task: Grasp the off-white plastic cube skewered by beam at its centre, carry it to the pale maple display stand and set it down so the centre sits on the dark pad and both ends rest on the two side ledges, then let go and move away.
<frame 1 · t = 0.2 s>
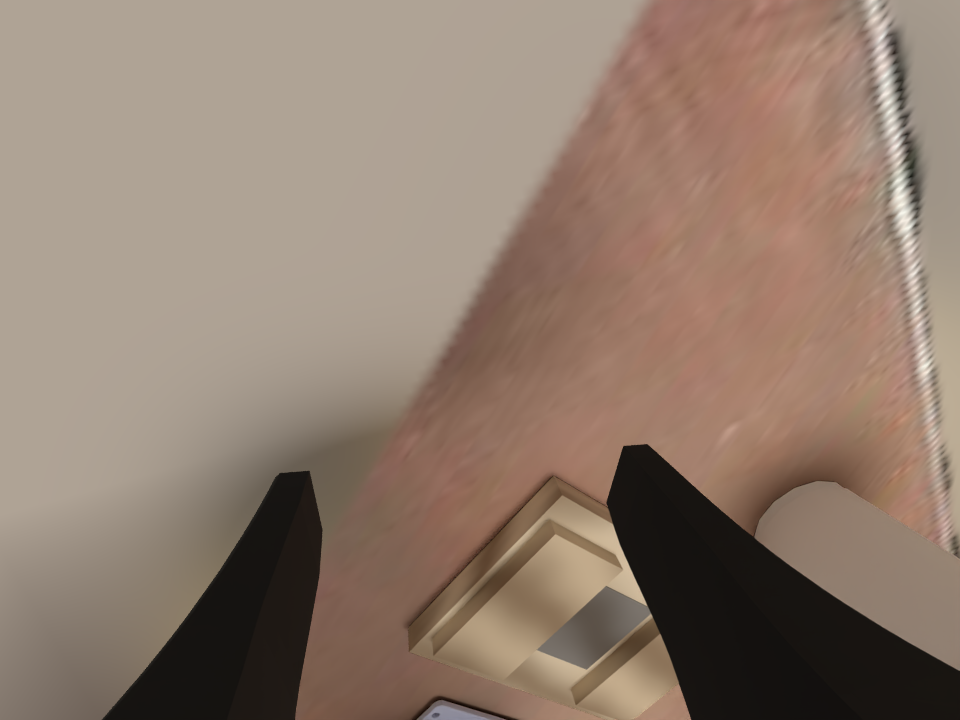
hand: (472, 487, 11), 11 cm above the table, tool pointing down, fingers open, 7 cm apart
foam cup: (800, 519, 30), on the table
display stand: (582, 605, 30), on the table
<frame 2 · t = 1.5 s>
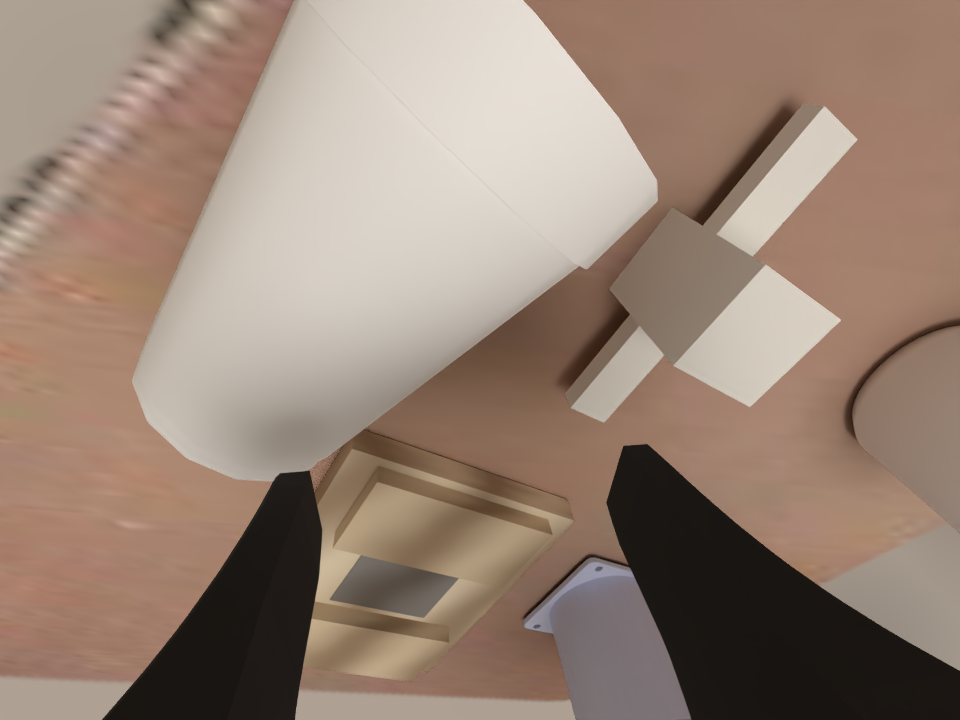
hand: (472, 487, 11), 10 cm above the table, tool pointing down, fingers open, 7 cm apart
foam cup: (239, 404, 16), point 5 cm above the table
cube skewered by beam: (672, 271, 21), on the table
display stand: (397, 561, 29), on the table
alcohol: (918, 384, 27), on the table
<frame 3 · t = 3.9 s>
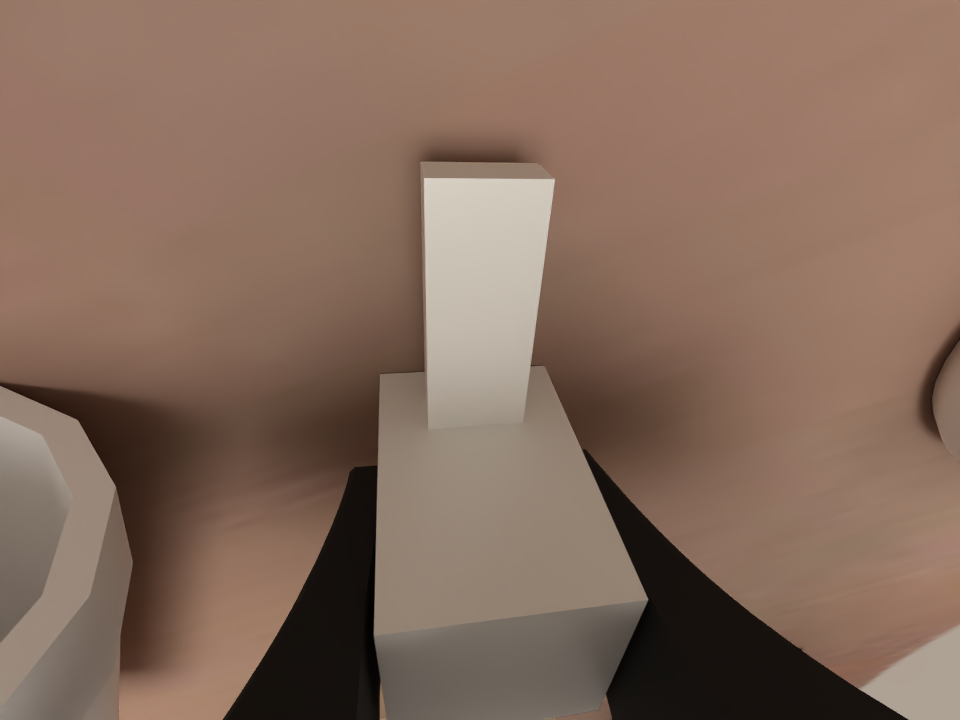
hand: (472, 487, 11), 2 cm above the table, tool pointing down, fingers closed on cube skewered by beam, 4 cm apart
cube skewered by beam: (462, 430, 13), on the table, touching gripper
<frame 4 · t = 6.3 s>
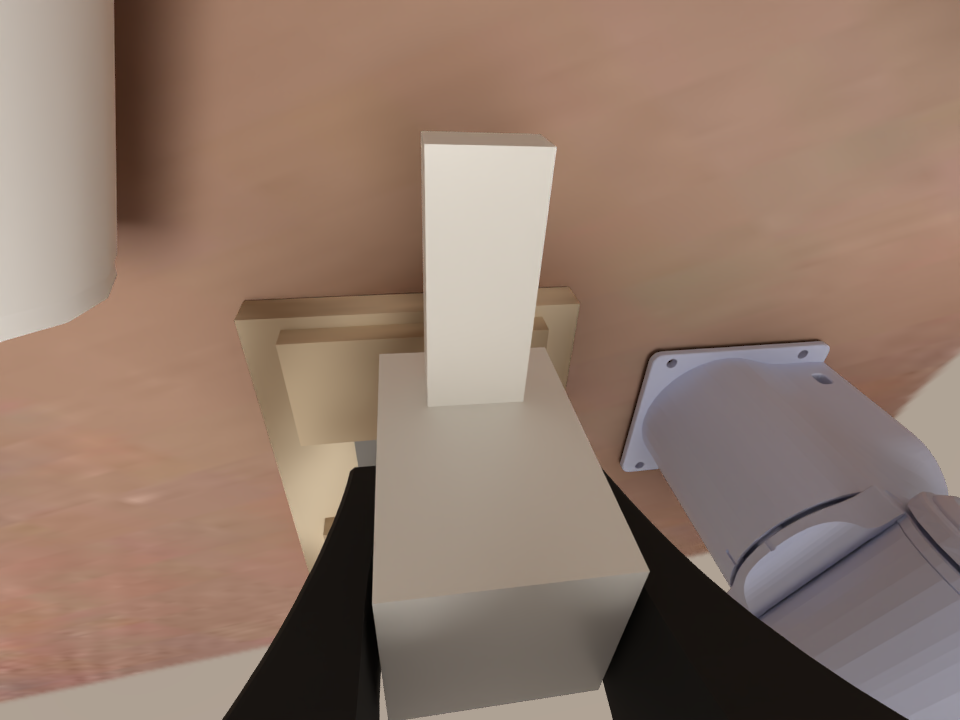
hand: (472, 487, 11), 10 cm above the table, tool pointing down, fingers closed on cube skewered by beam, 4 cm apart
cube skewered by beam: (461, 413, 13), point 8 cm above the table, touching gripper
display stand: (421, 444, 25), on the table
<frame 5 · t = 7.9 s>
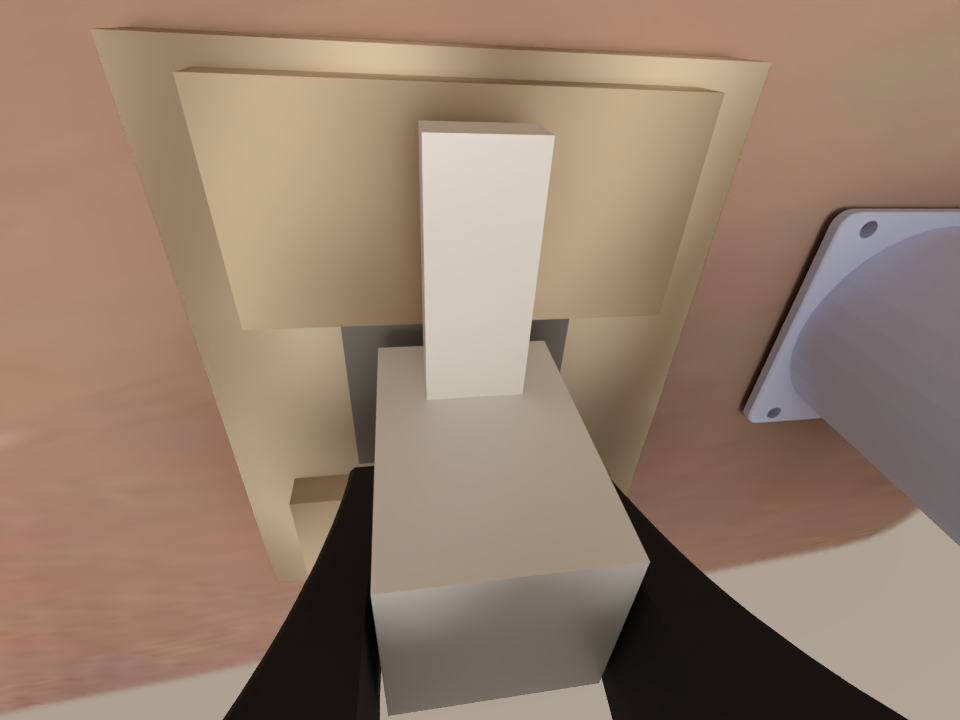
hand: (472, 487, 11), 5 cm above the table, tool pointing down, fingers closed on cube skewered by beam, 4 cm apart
cube skewered by beam: (461, 408, 13), point 3 cm above the table, touching gripper
display stand: (451, 364, 15), on the table
when the fingers open (4 cm above the table, at t = 8.9 s): cube skewered by beam stays where it is, resting on display stand.
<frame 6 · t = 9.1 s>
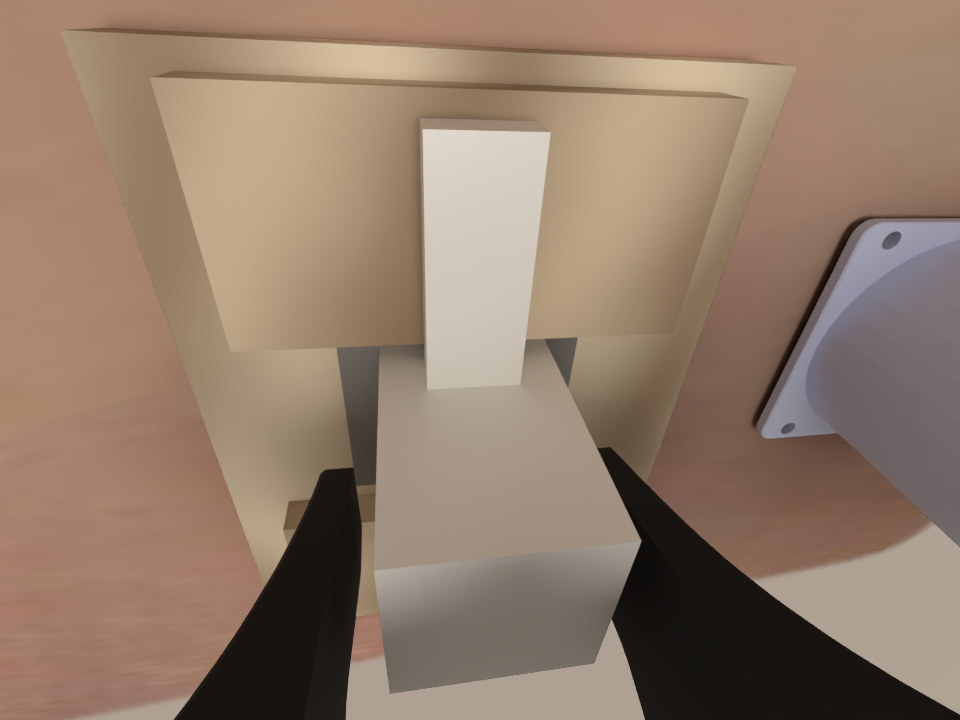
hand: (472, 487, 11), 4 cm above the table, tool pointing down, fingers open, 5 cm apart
cube skewered by beam: (460, 399, 13), point 2 cm above the table, touching display stand
display stand: (453, 380, 15), on the table
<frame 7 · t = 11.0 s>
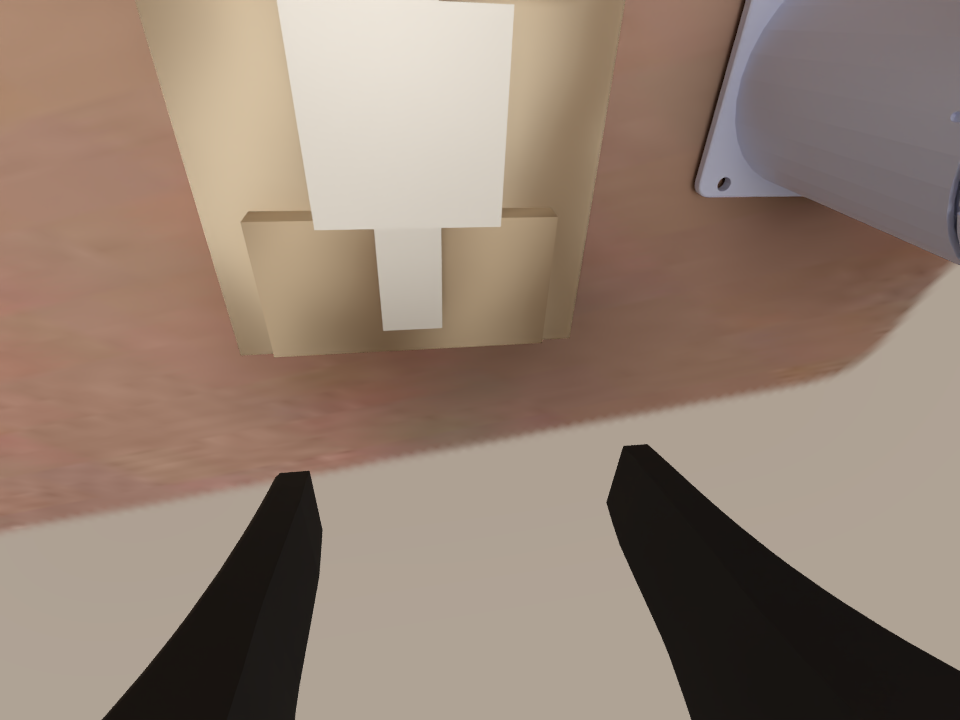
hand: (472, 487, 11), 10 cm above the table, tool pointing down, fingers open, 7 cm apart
cube skewered by beam: (400, 89, 14), point 2 cm above the table, touching display stand
display stand: (399, 102, 16), on the table
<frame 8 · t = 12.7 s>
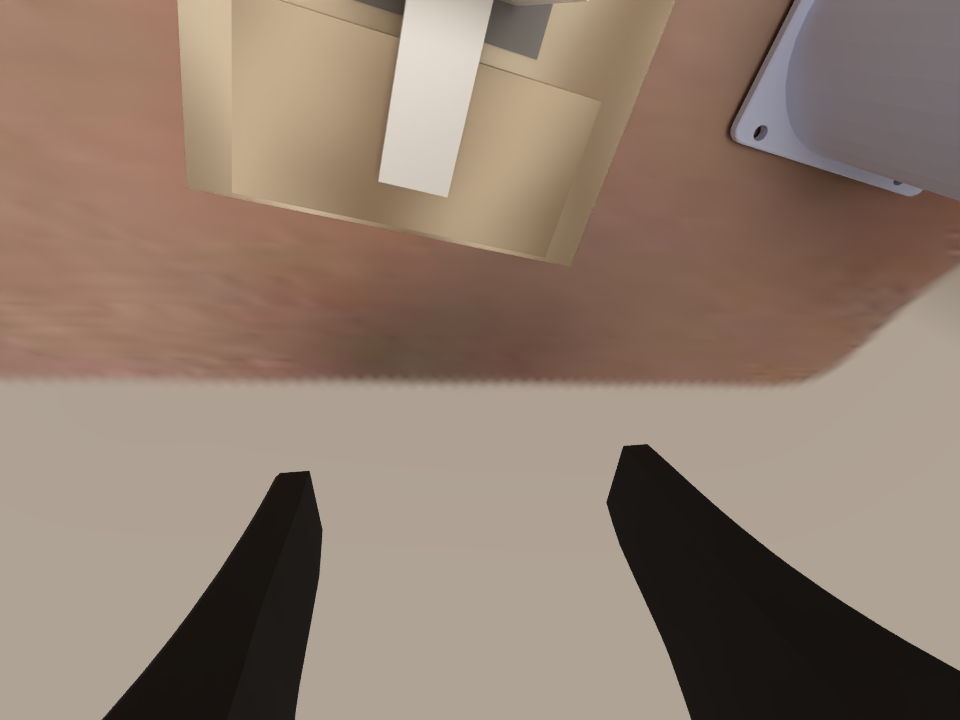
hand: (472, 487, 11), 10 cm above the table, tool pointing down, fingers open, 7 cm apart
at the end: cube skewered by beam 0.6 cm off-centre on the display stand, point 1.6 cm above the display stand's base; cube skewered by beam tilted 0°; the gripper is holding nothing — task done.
